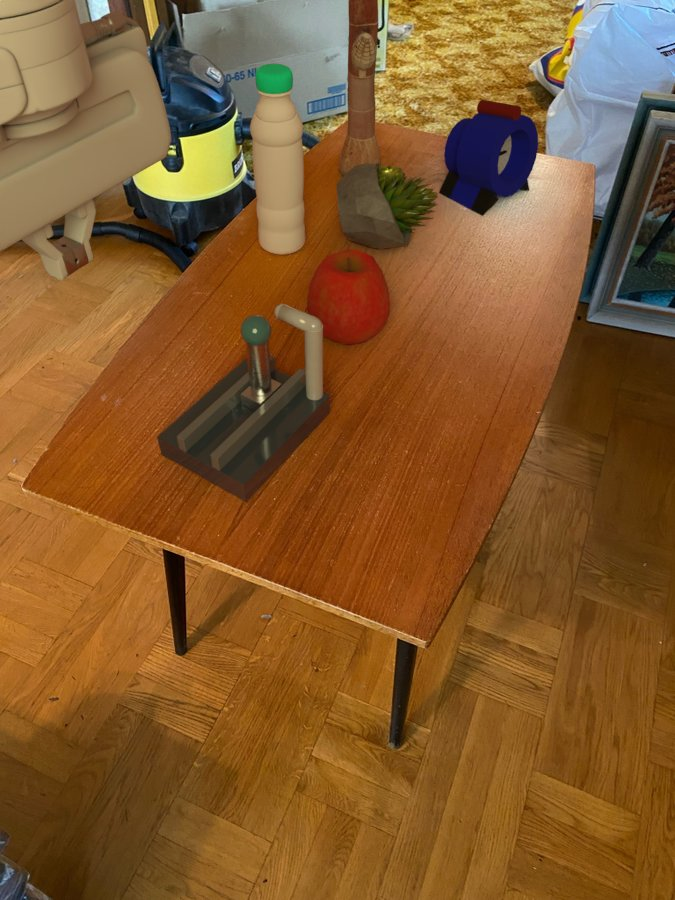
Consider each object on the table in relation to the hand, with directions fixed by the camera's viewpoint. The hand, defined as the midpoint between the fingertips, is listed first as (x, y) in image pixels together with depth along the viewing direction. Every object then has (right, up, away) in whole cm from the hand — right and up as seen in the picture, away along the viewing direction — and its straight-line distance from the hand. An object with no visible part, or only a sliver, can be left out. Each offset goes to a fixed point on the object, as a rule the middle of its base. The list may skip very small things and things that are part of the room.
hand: (71, 268), depth 50 cm
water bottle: (+10, +18, +59) cm, 62 cm away
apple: (+20, +4, +46) cm, 50 cm away
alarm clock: (+43, +31, +70) cm, 88 cm away
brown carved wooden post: (+22, +35, +73) cm, 84 cm away
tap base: (+8, -11, +32) cm, 35 cm away
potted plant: (+26, +20, +60) cm, 68 cm away
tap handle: (+10, -7, +32) cm, 34 cm away
